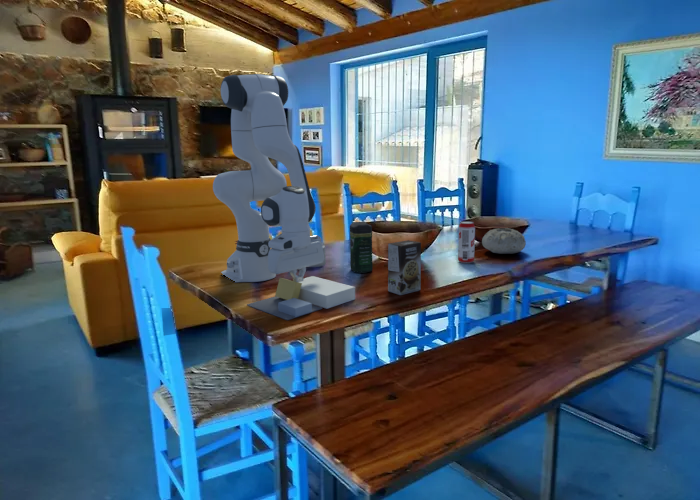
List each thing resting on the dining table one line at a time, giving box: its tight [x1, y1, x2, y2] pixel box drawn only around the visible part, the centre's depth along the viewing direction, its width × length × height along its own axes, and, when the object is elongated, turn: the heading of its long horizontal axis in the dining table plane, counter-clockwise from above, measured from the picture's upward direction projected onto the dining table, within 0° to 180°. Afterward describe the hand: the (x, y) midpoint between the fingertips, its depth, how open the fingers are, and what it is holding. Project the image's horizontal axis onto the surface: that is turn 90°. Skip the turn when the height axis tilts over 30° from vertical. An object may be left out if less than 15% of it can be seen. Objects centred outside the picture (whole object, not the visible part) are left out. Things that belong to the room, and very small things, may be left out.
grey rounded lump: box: [481, 227, 527, 255], centre depth 216 cm, size 18×18×10 cm
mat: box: [246, 295, 323, 321], centre depth 154 cm, size 20×13×1 cm, turn 45°
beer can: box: [457, 220, 476, 264], centre depth 201 cm, size 6×6×16 cm
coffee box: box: [387, 239, 422, 296], centre depth 166 cm, size 9×6×16 cm
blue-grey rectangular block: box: [278, 298, 313, 318], centre depth 149 cm, size 8×6×2 cm
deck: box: [298, 275, 356, 309], centre depth 162 cm, size 20×12×4 cm, turn 45°
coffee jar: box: [349, 221, 374, 274], centre depth 192 cm, size 10×8×19 cm
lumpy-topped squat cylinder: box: [307, 242, 327, 268], centre depth 206 cm, size 10×13×9 cm
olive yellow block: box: [274, 277, 302, 300], centre depth 159 cm, size 8×6×2 cm
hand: (298, 281), depth 162 cm, fingers closed
